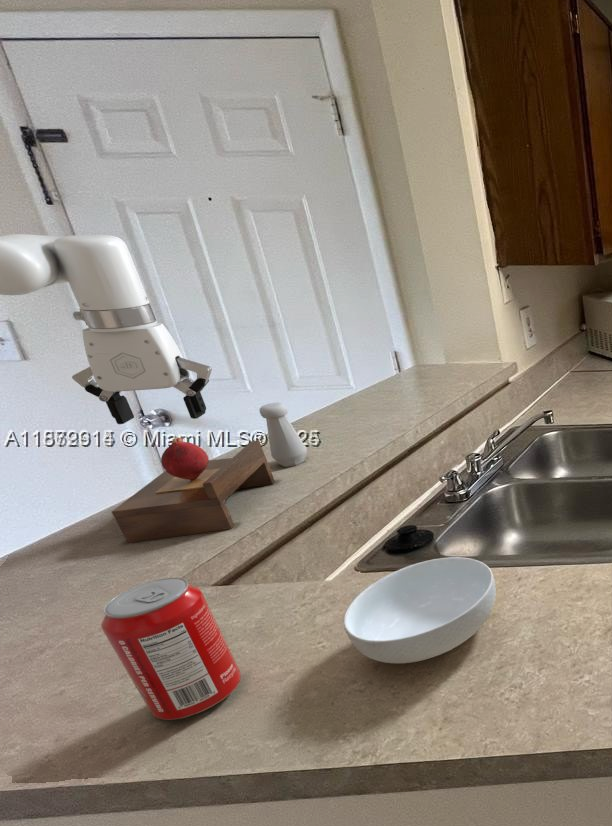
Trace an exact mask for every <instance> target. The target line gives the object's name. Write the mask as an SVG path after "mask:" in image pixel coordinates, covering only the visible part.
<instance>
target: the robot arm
mask: <svg viewBox="0 0 612 826" xmlns="http://www.w3.org/2000/svg"><path fill="white" fill-rule="evenodd" d="M63 283H68V285H69V287H70V289H71V291H72V294H73V296H74V297H75V300H76V303H77V306H78V307H79V310H78V311H73V313H72V317H73V318H74V319H75V320H76V321H82V322H84V323H85V325H86V326H87V327H86V328H84V329H82V339H83V347H84V350H85V354H86V358H87V362H88V364H89V366H88V367H86V368H84V369H82V370H80V371H79V372H77V373H74V374H73V375H71V378H72V380H73V381H74V382H75V383H77V384H78V385H79V386H81V387H83V388H84V390H85V392H87V393H89V394H91V395H93V396H95V397H96V398H98V400H99V401H100V402H103V403H105V404H106V406H107V409H108V410H109V411H108V412H109V413H110V416H111V417H112V418H113V419H114V420H115V423H116V424H117V425H124V424H126V423H128V422H129V421H131V420H133V419H134V418H135V415H134V413H133V410H132V408H131V406H130V404H129V401H128V399H127V397H126V396H125V395H121V393H122V392H133V391H147V390H161V389H163V390H164V389H171V388H172V387H173V388H174V389H176V390H178V391H180V392H181V393H183V394H185V396H183V398H182V399H183V401H184V405H185V407H186V409H187V412H188V414H189V417H190V419H192V420H197V419H199V418H200V417H202V416H204V415H205V414H206V411H207V406H206V402H205V401H204V398H203V395H202V393H201V392H202V391H203V390H204V388H205V387H206V386H207V384H208V383H209V382H210V378H211V373H212V370H213V369H212V367H211V366H209V365H207V364H203V363H200V362H196V361H193V360H190V359H187V358H184V356H183V354H182V352H181V350H180V348H179V346H178V345H177V343H176V341H175V340H174V337H172V335H171V333H170V332H169V330H168V329H167V328H166V326H165V325H164V324H163V322H158V321H157V318H156V315H155V313H154V310H153V308H152V305H151V303H150V300H149V298H148V295H147V293H146V290H145V287H144V285H143V283H142V280H141V278H140V275H139V273H138V270H137V268H136V265H135V263H134V260H133V257H132V255H131V253H130V250H129V248H128V245H127V243H125V241H124V240H123V239H122V238H120V237H118V236H116V235H115V236H114V235H111V234H75V235H65V236H56V235H44V234H43V235H42V234H32V233H31V234H29V233H11V234H4V235H0V296H22V295H27V294H31V293H33V292H36V291H39V290H41V289H43V288H47V287H50V286H54V285H57V284H63ZM190 372H193V373H196V379H195V380H193V379H192V378H190ZM93 378H94V379H93Z"/></svg>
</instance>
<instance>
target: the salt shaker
mask: <svg viewBox="0 0 612 826" xmlns="http://www.w3.org/2000/svg"><path fill="white" fill-rule="evenodd" d="M288 413H289V408H288V407H287V405H286V404H285V403H283V402H269V403H267V404H264V405H262V406H260V408H259V414H260V416H261V417H262V418H263V419H265V420H266V426H267V434H268V441H269V449H270V455H271V457H272V459H273V460H274V461H275V462H277V463H278V465H280V466H282V467H284V468H287V467H295V466H298V465H300V464H303V463H305V460H306V456H307V453H308V448H307V446H306V445H305V443H304V442H303V440H302V439H301V437H300V436H299V434H298V433H297V431H296V429H295V428H294V426H293V424H292V423H291V421H290V420H289V418H288V417H287V414H288Z"/></svg>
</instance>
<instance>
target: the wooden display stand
mask: <svg viewBox="0 0 612 826" xmlns="http://www.w3.org/2000/svg"><path fill="white" fill-rule="evenodd" d="M270 467H271V466H270V465H269V462H268V460H267V457H266V454H265V452H264V450H263V447H262V444H261V442H260V440H251V441H250V442H248V444H247V445H245V446H244V447H243V448H242V449H241V450H239V452H237V453H236V454H235V455H234V456H233V457H228V458H221V459H220V458H219V459H209V462H208V465H207V468H206V469H205V470H204V471H203V472H202V473H201V474H200V475H199V477H198V478H197V479H194V480H188V479H182V478H178V477H175V476H172V475H170V474H169V473H167V472H166V470H164V471H163V472H162V473H161V474H159V475H158V476H157V477H155V478H154V479H153V480H151V481H150V482H148V483H147V484H146V485H145V486H143V487H142V488H141V489H139V490H138V491H137V492H135V493H134V494H132V495H131V496H130V497H129V498H127V499H126V500H125V501H124V502H123V503H121V504H120V505H118V506H117V507H115V508H114V509H113V510H111V514H112V515H113V518H114V519H115V521H116V523H117V525H118V527H119V529H120V531H121V533H122V535H123V537H124V538H125V541H126V543H127V544H129V543H137V542H144V541H151V540H159V539H167V538H174V537H182V536H188V535H196V534H197V535H198V534H203V533H210V532H217V531H225V530H231V529H233V528H234V527H235V523H234V521H233V518H232V516H231V514H230V512H229V510H228V507H227V505H226V503H225V501H226V500H227V499H228V498H229V497H230V496H232V494H233V493H234V492H235V491H236V490H237V489H246V488H253V487H254V488H255V487H262V486H270V485H271V486H272V485H274V483H276V479H275V478H274V475H273V473H272V470H271V468H270Z"/></svg>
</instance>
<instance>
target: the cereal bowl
mask: <svg viewBox="0 0 612 826" xmlns="http://www.w3.org/2000/svg"><path fill="white" fill-rule="evenodd" d="M496 594H497V588H496V581H495V577H494V573H493V571H492V570H491V568H490V567H489V566H488V565H487V564H485V563H484V562H482V561H480V560H477V559H475V558H469V557H461V556H451V557H440V558H434V559H430V560H425V561H424V560H423V561H421V562H416V563H414V564H410V565H408V566H405V567H402V568H400V569H398V570H395V571H394V572H391V573H389V574H387V575H385V576H383V577H381V578H380V579H378V580H377V581H375V582H373V583H371V584H370V585H369V586H368V587H366V588H365V589H364V590H362V591H361V592H360V593H359V594H358V595H357V596H356V597H355V598H354V599H353V600H352V602H351V603H350V604H349V605H348V607H347V609H346V611H345V613H344V616H343V627H344V631H345V633H346V635H347V637H348V639H349V640H350V642H351V644H352V645H353V646H354V647H355V649H357V651H358V652H359V653H360V654H362V655H363V656H365V657H366V658H368V659H371V660H374V661H377V662H381V663H385V664H386V663H387V664H388V663H389V664H407V663H408V664H411V663H417V662H421V661H426V660H428V659H431V658H434V657H438V656H440V655H443V654H446V653H448V652H449V651H452V650H454V649H455V648H457V647H459V646H460V645H462V644H463V643H464V642H466V641H468V639H470V638H471V637H472V636H474V635H475V634H476V633H477V632H478V630H480V629H481V628H482V627H483V626H484V624H485V623H486V622H487V621H488V618H490V616H491V613H492V612H493V608H495V607H494V606H495V603H496V597H497V595H496Z"/></svg>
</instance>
